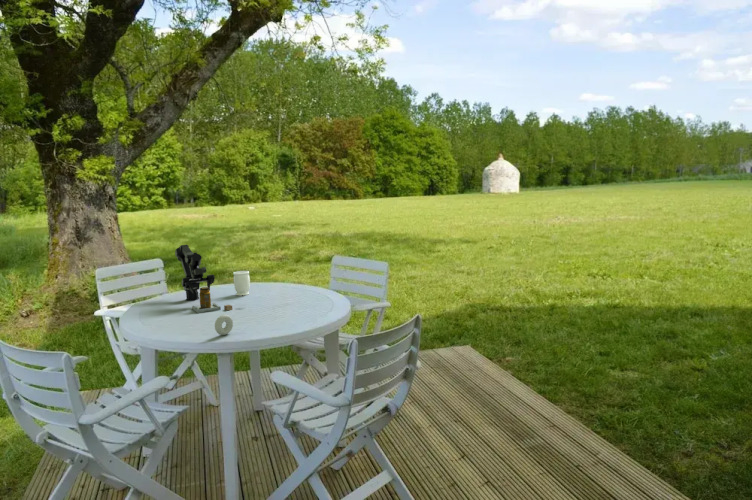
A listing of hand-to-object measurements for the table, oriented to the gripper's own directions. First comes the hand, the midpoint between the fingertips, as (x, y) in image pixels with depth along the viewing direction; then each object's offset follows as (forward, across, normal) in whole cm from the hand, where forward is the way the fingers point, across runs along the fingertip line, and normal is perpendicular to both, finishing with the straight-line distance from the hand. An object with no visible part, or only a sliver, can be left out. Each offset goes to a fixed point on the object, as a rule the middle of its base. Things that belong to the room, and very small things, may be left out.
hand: (201, 291), depth 331 cm
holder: (+12, 0, 0) cm, 12 cm away
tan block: (+19, +10, -7) cm, 23 cm away
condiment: (+12, 0, 0) cm, 12 cm away
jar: (-6, +30, +19) cm, 37 cm away
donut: (+55, -7, -43) cm, 71 cm away
